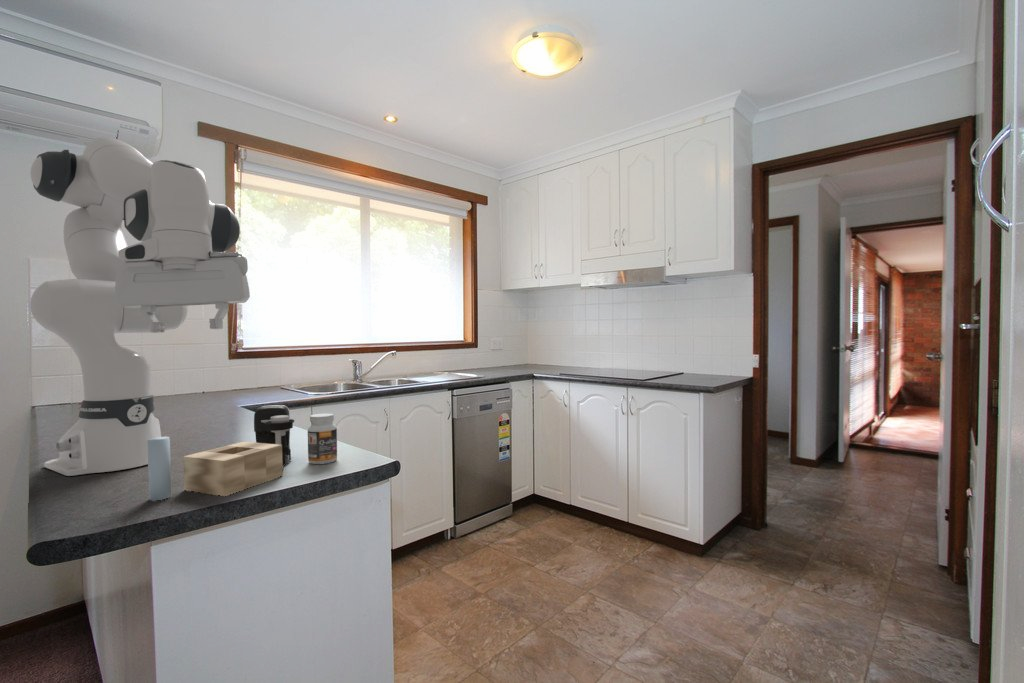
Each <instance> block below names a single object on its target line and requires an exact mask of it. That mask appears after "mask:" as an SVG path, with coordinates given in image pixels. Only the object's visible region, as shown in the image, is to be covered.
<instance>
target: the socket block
mask: <svg viewBox="0 0 1024 683" xmlns="http://www.w3.org/2000/svg"><path fill="white" fill-rule="evenodd" d="M182 457H183V458H182V460H183V462H182V463H183V466H182V467H183V491H184V490H186V492H191V491H194V492H193V493H198V492H201V493H200V494H205V493H206V494H205V495H211V494H212V496H218V495H220V496H219V497H225V496H226V497H228V496H230V494H231V495H234V494H236V492H237V493H240V492H243V491H244V489H245V490H248V489H250V487H251V488H253V486H254V487H256V486H255V485H257V486H258V484H259V485H262V484H265V483H268V482H270V480H271V481H273V480H276V479H278V478H277V477H279V478H281V477H280V476H282V477H283V476H284V466H283V462H282V445H278V444H266V443H256V441H255V442H253V441H252V442H251V441H241V442H236V443H232V444H228V445H224V446H220V447H216V448H212V449H207V450H204V451H199V452H195V453H192V454H188V455H184V456H182ZM275 478H276V479H275ZM272 479H273V480H272ZM267 481H268V482H267ZM264 482H265V483H264ZM261 483H262V484H261ZM247 488H248V489H247ZM239 491H240V492H239ZM233 493H234V494H233Z"/></svg>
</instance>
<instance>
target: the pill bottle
mask: <svg viewBox="0 0 1024 683" xmlns="http://www.w3.org/2000/svg"><path fill="white" fill-rule="evenodd" d="M334 418H335V416H334V413H327V412H326V413H316V414H311V415H310V416H309V422H310V423H311V424H310V425H309V427H308V428H307V457H308V458H307V460H308V463H310V464H311V465H327V464H331V463H334V462H336V461H337V458H338V438H337V437H338V434H337V433H338V432H337V431H338V429H337V425H336V424H335V423H334V422H333V421H334V420H335V419H334Z"/></svg>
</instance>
